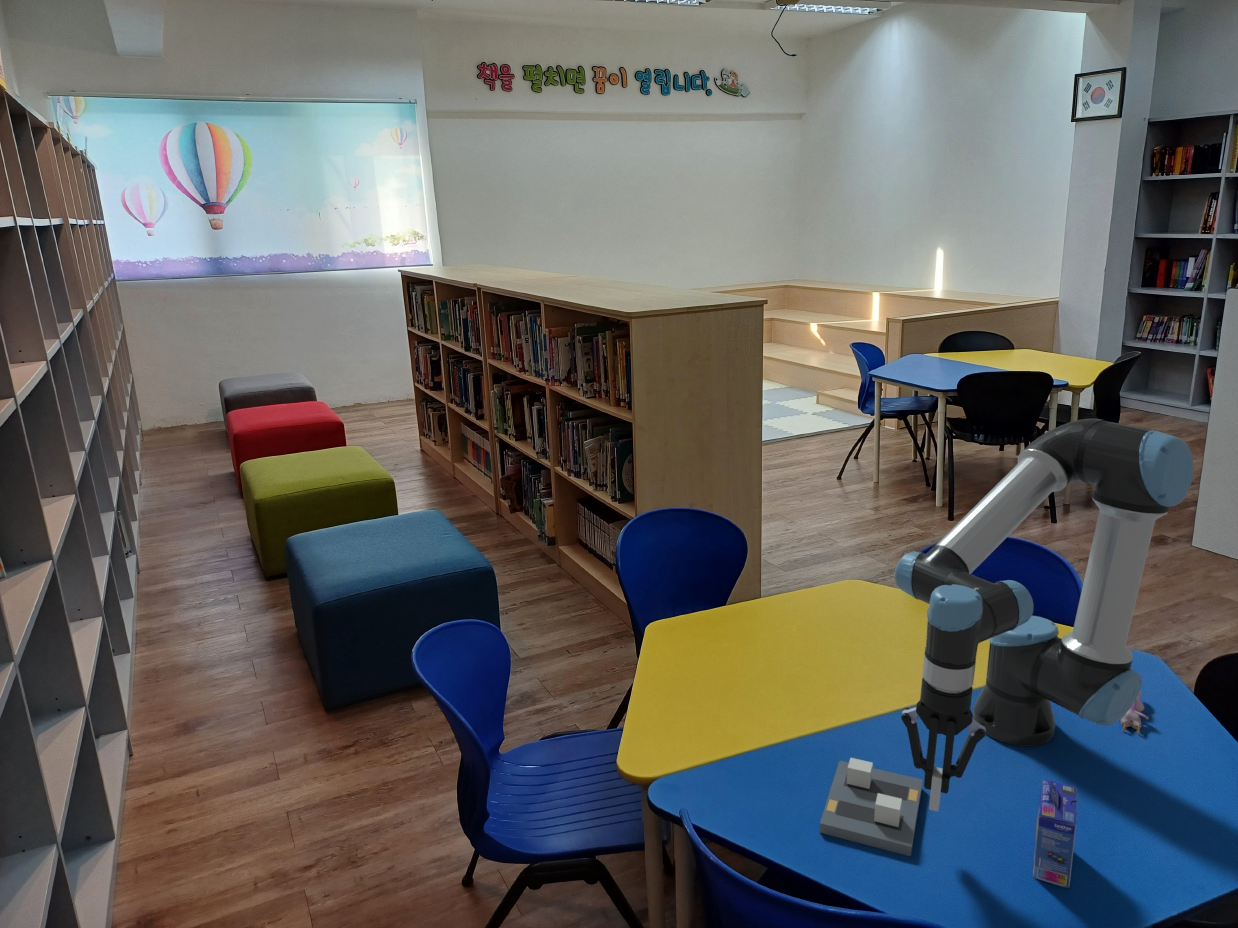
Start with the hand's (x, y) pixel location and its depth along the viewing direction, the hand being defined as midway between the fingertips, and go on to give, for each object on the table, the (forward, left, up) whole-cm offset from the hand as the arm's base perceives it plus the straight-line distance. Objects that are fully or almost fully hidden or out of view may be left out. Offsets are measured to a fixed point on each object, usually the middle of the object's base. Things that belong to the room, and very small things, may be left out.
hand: (934, 805), depth 142 cm
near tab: (+7, 0, -5) cm, 9 cm away
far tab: (+13, -8, -5) cm, 16 cm away
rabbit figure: (-34, -52, -8) cm, 63 cm away
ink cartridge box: (-18, -2, -8) cm, 20 cm away
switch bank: (+10, -4, -8) cm, 13 cm away
